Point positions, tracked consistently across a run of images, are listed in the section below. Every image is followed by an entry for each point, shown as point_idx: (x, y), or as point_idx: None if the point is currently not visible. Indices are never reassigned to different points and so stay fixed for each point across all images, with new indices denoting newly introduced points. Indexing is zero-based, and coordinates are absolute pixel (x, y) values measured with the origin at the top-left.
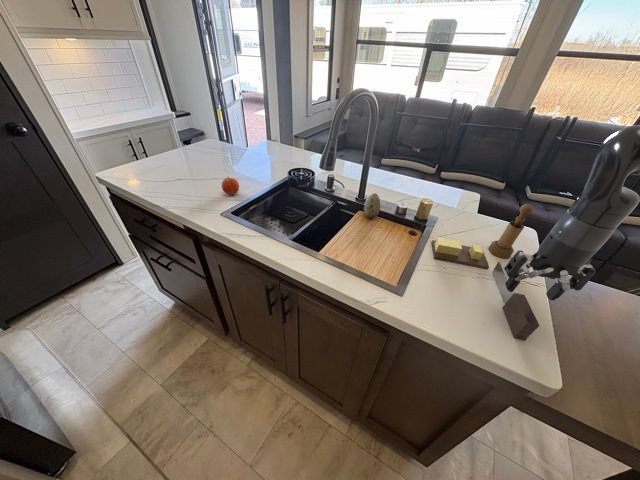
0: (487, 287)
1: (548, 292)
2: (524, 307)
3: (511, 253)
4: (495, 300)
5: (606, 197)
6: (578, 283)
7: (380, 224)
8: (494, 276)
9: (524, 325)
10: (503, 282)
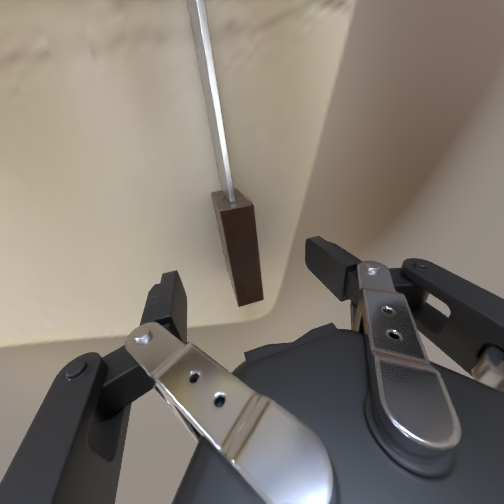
0: (165, 106)
1: (312, 247)
2: (240, 263)
3: None
4: (193, 169)
5: None
6: (421, 331)
7: None
8: (187, 2)
9: (235, 296)
10: (207, 90)
